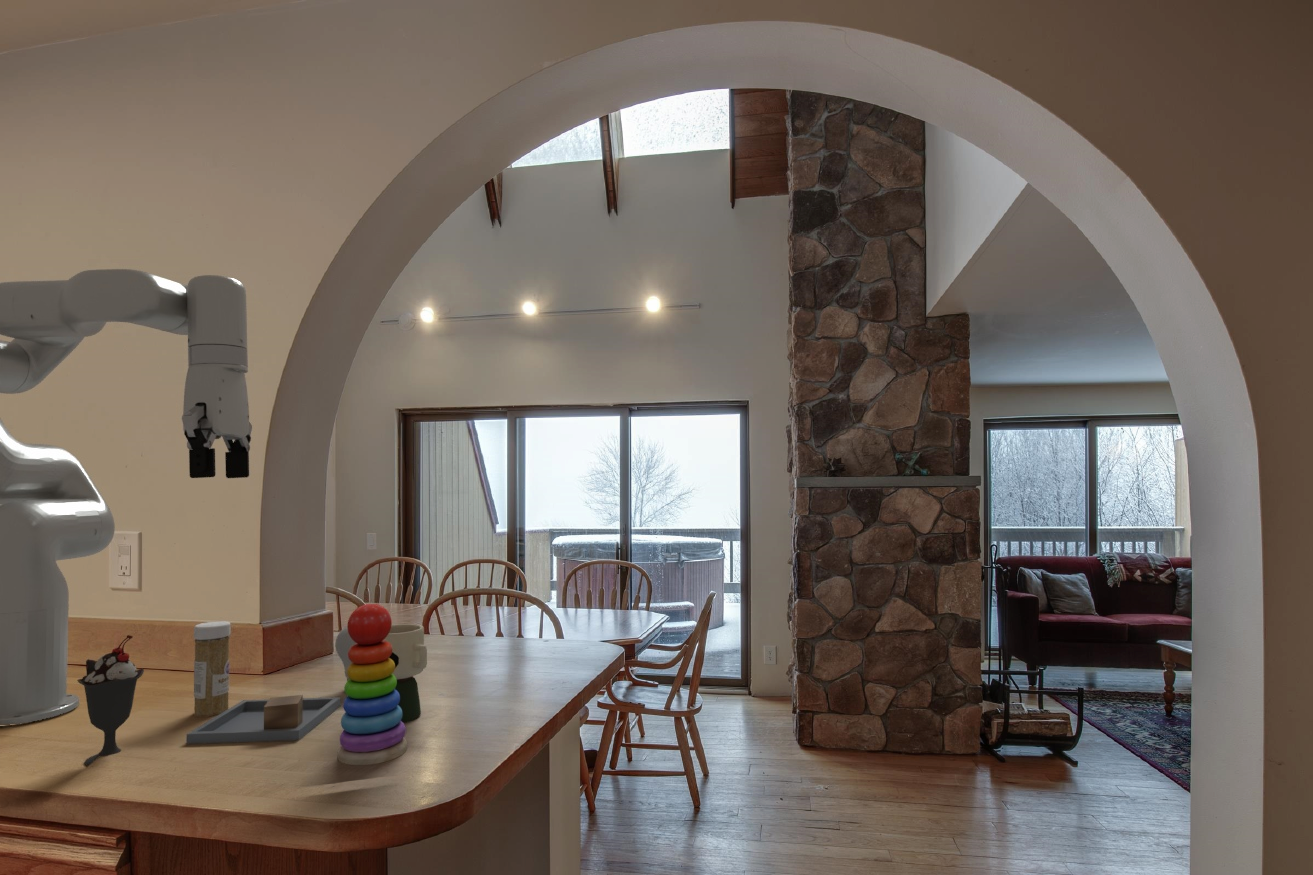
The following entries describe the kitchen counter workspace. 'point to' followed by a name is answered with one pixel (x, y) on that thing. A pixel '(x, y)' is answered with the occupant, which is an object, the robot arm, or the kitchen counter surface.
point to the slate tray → (259, 723)
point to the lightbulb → (344, 648)
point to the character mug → (408, 665)
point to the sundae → (110, 695)
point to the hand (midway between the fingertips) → (220, 477)
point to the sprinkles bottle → (211, 668)
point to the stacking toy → (371, 693)
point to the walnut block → (283, 712)
